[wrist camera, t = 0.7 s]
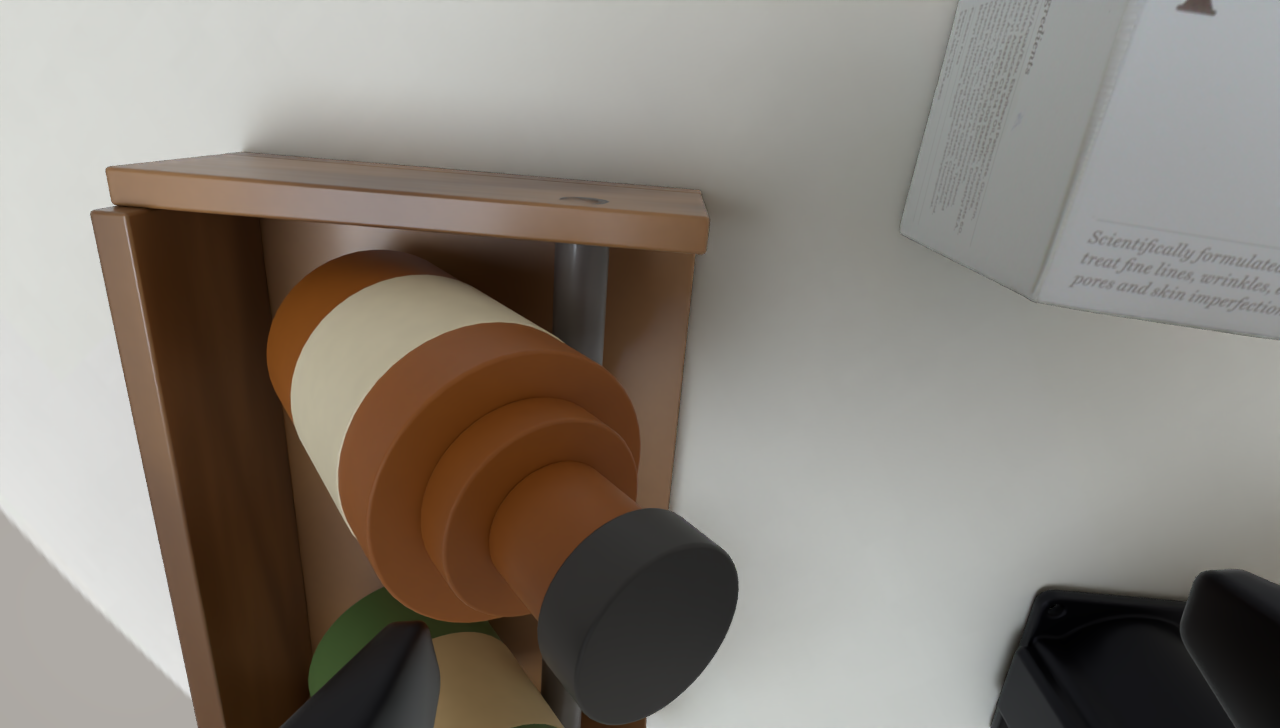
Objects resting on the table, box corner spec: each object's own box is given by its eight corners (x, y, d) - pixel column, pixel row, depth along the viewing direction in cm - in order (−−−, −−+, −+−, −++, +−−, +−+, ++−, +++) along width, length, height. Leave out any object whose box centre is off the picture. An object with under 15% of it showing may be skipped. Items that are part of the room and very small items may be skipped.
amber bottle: (709, 262, 18) (786, 503, 7) (689, 437, 20) (725, 843, 9) (319, 230, 18) (-206, 424, 7) (336, 409, 20) (-60, 780, 9)
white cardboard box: (892, 234, 18) (1024, 310, 12) (959, -18, 16) (1171, -108, 9) (1112, 265, 19) (1374, 360, 12) (1209, 19, 16) (1600, -44, 9)
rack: (701, 189, 18) (712, 222, 13) (645, 713, 25) (639, 867, 20) (240, 151, 18) (78, 169, 13) (308, 682, 25) (217, 827, 20)
